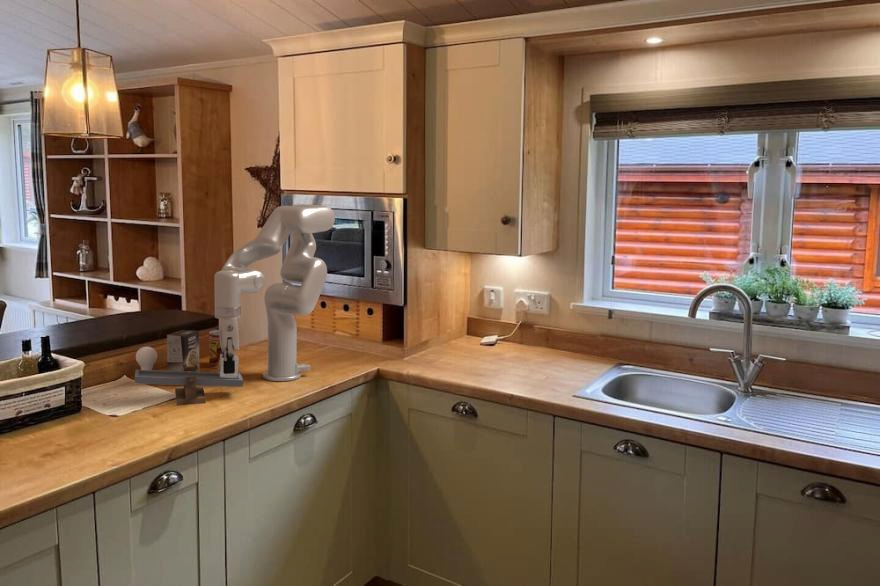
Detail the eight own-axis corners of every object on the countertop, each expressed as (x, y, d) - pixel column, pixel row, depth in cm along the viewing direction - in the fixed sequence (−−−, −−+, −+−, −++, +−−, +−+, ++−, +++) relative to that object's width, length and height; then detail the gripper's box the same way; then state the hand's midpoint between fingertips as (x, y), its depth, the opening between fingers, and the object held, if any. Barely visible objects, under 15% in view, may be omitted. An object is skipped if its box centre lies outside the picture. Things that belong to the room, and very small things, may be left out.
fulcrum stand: (202, 391, 218) (202, 365, 217) (205, 403, 207) (205, 376, 205) (175, 393, 215) (174, 367, 214) (176, 405, 204) (176, 378, 202)
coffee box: (185, 386, 223) (184, 336, 220) (166, 384, 224) (165, 334, 222) (200, 378, 232) (199, 330, 229) (182, 376, 233) (181, 328, 230)
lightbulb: (144, 384, 223) (143, 350, 221) (132, 380, 226) (131, 347, 225) (161, 379, 228) (161, 346, 227) (149, 376, 232) (148, 343, 230)
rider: (234, 376, 217) (237, 354, 217) (236, 381, 213) (239, 358, 212) (218, 376, 215) (220, 354, 215) (219, 380, 211) (221, 358, 210)
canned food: (206, 364, 249) (205, 331, 247) (227, 361, 254) (227, 329, 252) (213, 369, 243) (213, 335, 241) (236, 366, 248) (235, 333, 246)
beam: (239, 379, 220) (240, 372, 219) (242, 386, 212) (243, 379, 212) (134, 376, 208) (135, 369, 208) (134, 383, 201) (134, 376, 200)
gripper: (244, 317, 205) (244, 377, 208) (237, 306, 220) (237, 363, 223) (217, 317, 202) (217, 379, 205) (212, 307, 217) (213, 364, 220)
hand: (228, 370), depth 214 cm, fingers closed on rider, 5 cm apart
